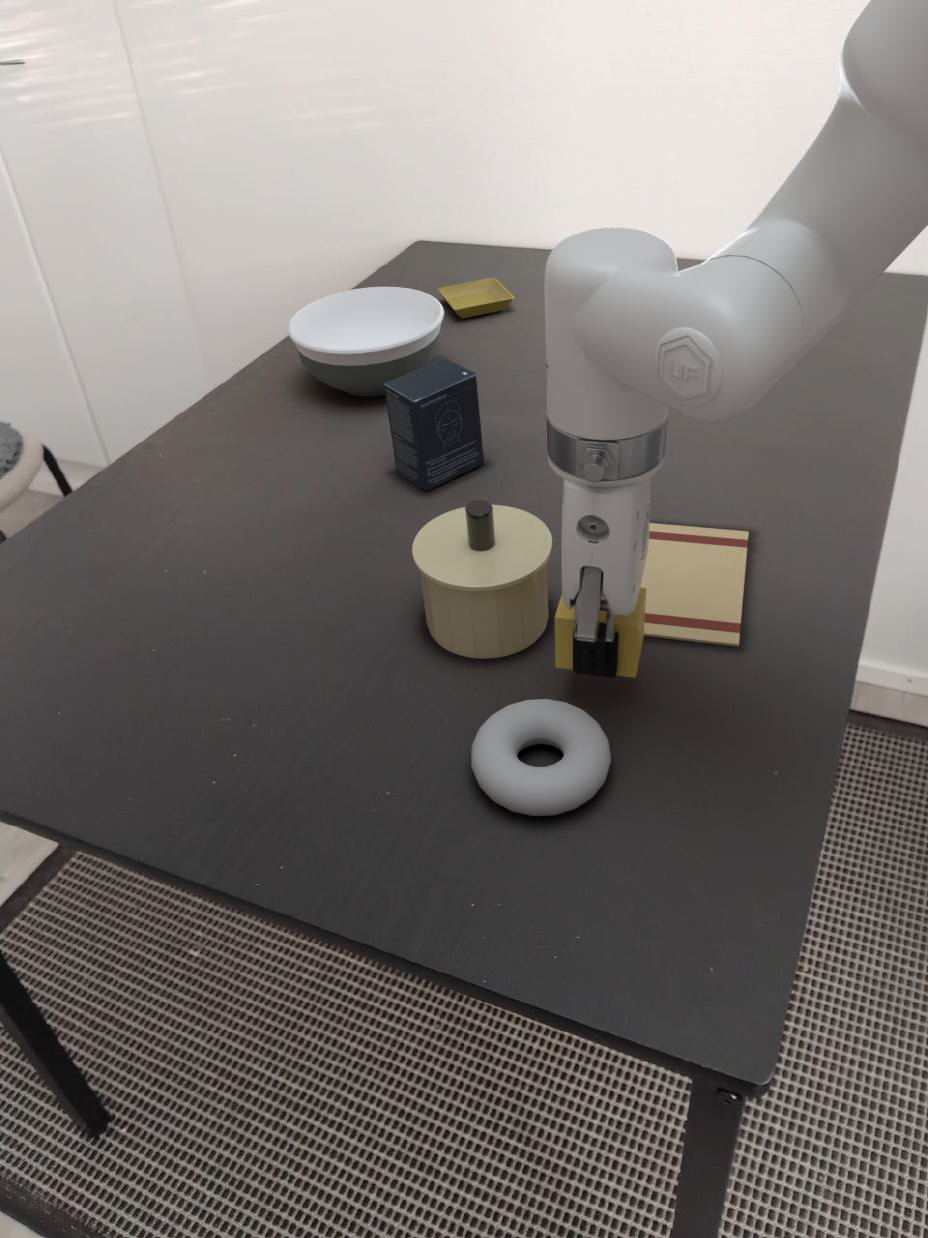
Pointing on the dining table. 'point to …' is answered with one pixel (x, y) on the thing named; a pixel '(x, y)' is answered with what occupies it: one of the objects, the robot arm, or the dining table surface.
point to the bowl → (367, 336)
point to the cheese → (624, 625)
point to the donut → (540, 785)
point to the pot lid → (482, 547)
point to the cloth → (694, 583)
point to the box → (435, 423)
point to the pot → (487, 617)
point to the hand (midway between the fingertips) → (600, 647)
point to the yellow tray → (477, 297)
